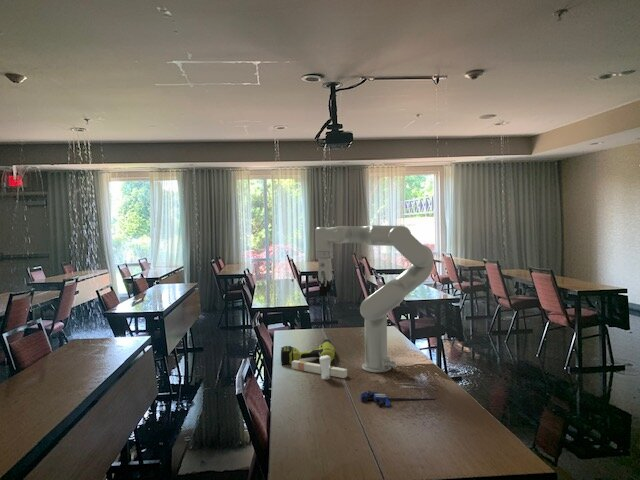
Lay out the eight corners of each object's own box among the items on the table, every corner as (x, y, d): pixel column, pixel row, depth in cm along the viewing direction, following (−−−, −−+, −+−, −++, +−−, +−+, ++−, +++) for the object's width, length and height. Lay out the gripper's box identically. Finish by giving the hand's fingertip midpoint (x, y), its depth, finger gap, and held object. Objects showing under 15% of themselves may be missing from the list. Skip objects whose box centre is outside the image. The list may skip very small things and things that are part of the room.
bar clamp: (362, 401, 148) (359, 390, 158) (361, 408, 148) (359, 397, 158) (458, 403, 147) (450, 391, 157) (458, 410, 147) (449, 398, 157)
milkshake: (323, 375, 181) (322, 351, 181) (333, 377, 178) (332, 353, 177) (316, 378, 177) (315, 353, 177) (326, 381, 174) (325, 356, 174)
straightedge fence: (347, 376, 179) (347, 368, 179) (344, 378, 177) (343, 370, 177) (295, 366, 193) (294, 359, 193) (291, 368, 191) (291, 361, 190)
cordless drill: (283, 349, 219) (334, 348, 219) (279, 367, 195) (335, 366, 195) (283, 335, 219) (333, 334, 219) (278, 351, 194) (335, 350, 194)
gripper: (329, 256, 184) (330, 297, 185) (335, 253, 201) (336, 291, 202) (312, 256, 185) (313, 297, 186) (319, 253, 202) (320, 291, 203)
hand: (325, 293), depth 194 cm, fingers open, 9 cm apart
